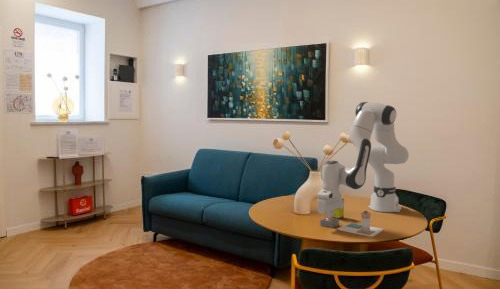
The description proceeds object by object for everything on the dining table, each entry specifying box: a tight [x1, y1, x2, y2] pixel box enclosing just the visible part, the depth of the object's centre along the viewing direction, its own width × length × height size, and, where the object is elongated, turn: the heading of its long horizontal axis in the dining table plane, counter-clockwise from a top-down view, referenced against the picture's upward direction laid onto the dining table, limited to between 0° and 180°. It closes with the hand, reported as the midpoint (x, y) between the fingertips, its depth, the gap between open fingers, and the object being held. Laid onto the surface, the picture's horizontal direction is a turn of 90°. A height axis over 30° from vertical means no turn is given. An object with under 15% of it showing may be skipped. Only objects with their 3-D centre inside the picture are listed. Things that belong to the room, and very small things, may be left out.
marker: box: [360, 210, 371, 232], centre depth 193 cm, size 4×4×10 cm
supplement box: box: [333, 197, 345, 220], centre depth 222 cm, size 6×6×11 cm
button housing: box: [319, 216, 340, 229], centre depth 207 cm, size 7×7×3 cm
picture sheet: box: [337, 222, 384, 238], centre depth 199 cm, size 14×18×1 cm
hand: (329, 218), depth 207 cm, fingers closed, pressing on done button
